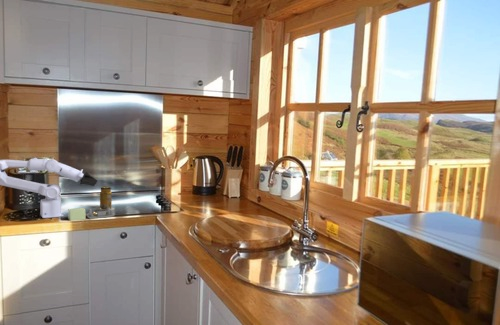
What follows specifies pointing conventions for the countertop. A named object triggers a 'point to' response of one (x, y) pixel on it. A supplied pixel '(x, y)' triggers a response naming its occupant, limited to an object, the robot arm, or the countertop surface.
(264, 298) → the countertop surface
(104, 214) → the chassis
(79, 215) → the pale green block
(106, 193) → the condiment
